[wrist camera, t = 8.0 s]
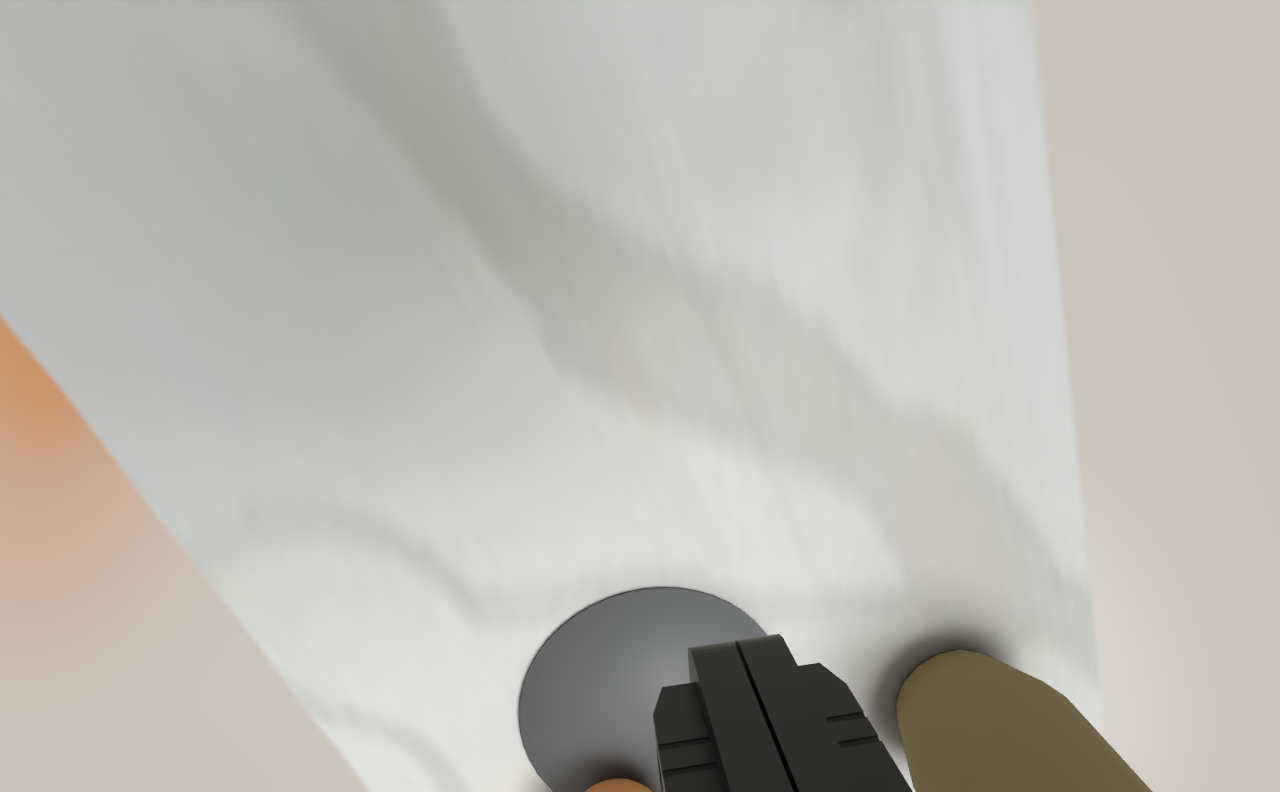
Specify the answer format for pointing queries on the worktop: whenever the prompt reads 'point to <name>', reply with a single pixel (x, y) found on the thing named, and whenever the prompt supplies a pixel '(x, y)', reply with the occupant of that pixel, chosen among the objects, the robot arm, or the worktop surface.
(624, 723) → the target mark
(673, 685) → the robot arm
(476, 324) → the worktop surface
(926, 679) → the squeeze bottle
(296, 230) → the worktop surface
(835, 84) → the worktop surface
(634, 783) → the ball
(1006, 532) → the worktop surface
